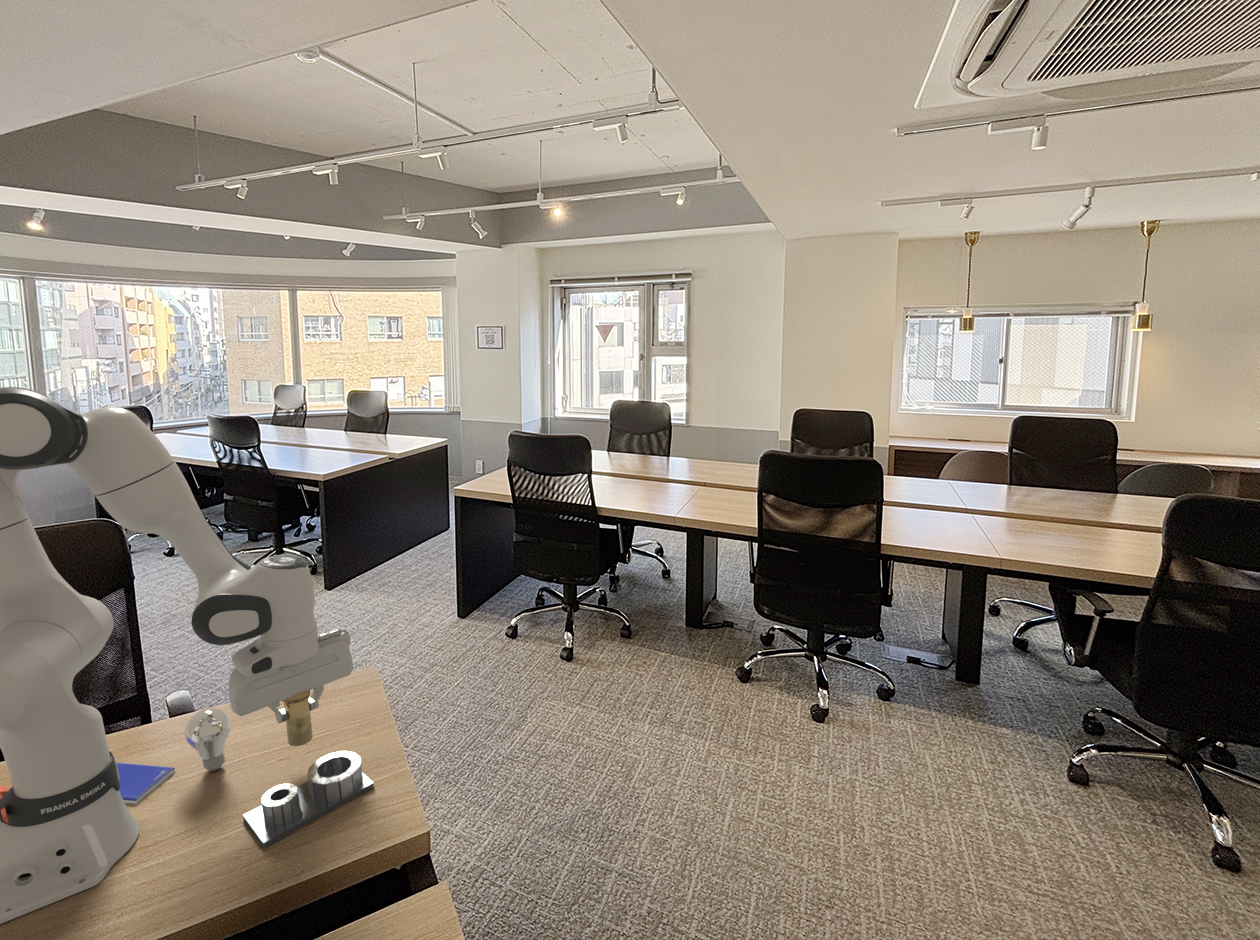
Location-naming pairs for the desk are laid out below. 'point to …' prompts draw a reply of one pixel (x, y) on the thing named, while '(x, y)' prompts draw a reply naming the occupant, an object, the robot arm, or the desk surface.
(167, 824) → the desk surface
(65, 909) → the desk surface
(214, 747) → the light bulb
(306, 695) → the brass fitting
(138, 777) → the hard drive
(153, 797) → the desk surface
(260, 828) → the manifold plate
